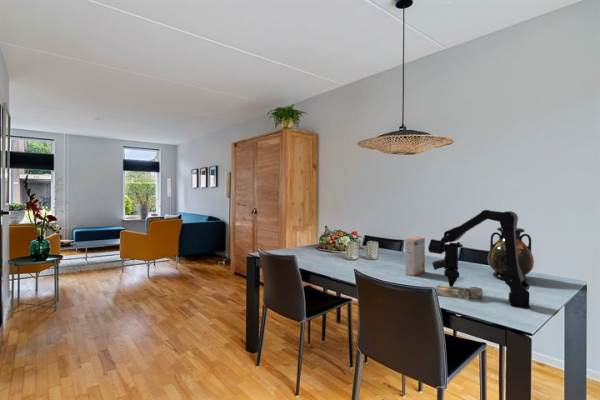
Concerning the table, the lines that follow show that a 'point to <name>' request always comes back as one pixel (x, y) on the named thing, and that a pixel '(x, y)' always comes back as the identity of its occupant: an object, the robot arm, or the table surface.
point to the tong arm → (473, 291)
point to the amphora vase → (498, 254)
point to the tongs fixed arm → (453, 292)
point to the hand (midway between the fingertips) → (450, 287)
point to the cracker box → (415, 256)
